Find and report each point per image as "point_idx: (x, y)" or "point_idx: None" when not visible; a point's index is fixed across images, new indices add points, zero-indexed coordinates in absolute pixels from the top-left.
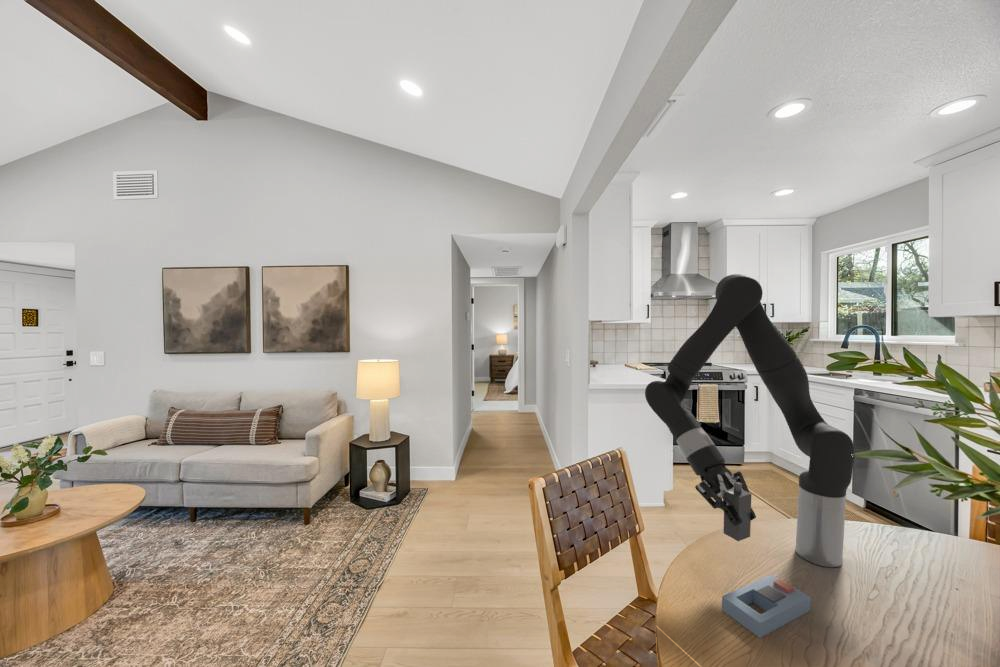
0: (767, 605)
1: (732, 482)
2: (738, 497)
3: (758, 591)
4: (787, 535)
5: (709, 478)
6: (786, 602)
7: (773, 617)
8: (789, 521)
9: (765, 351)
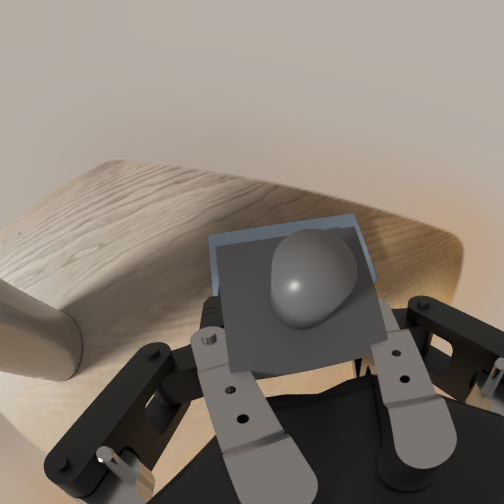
0: None
1: (252, 412)
2: (356, 233)
3: None
4: (47, 411)
5: (500, 422)
6: (267, 235)
7: (321, 218)
8: (18, 428)
9: None
